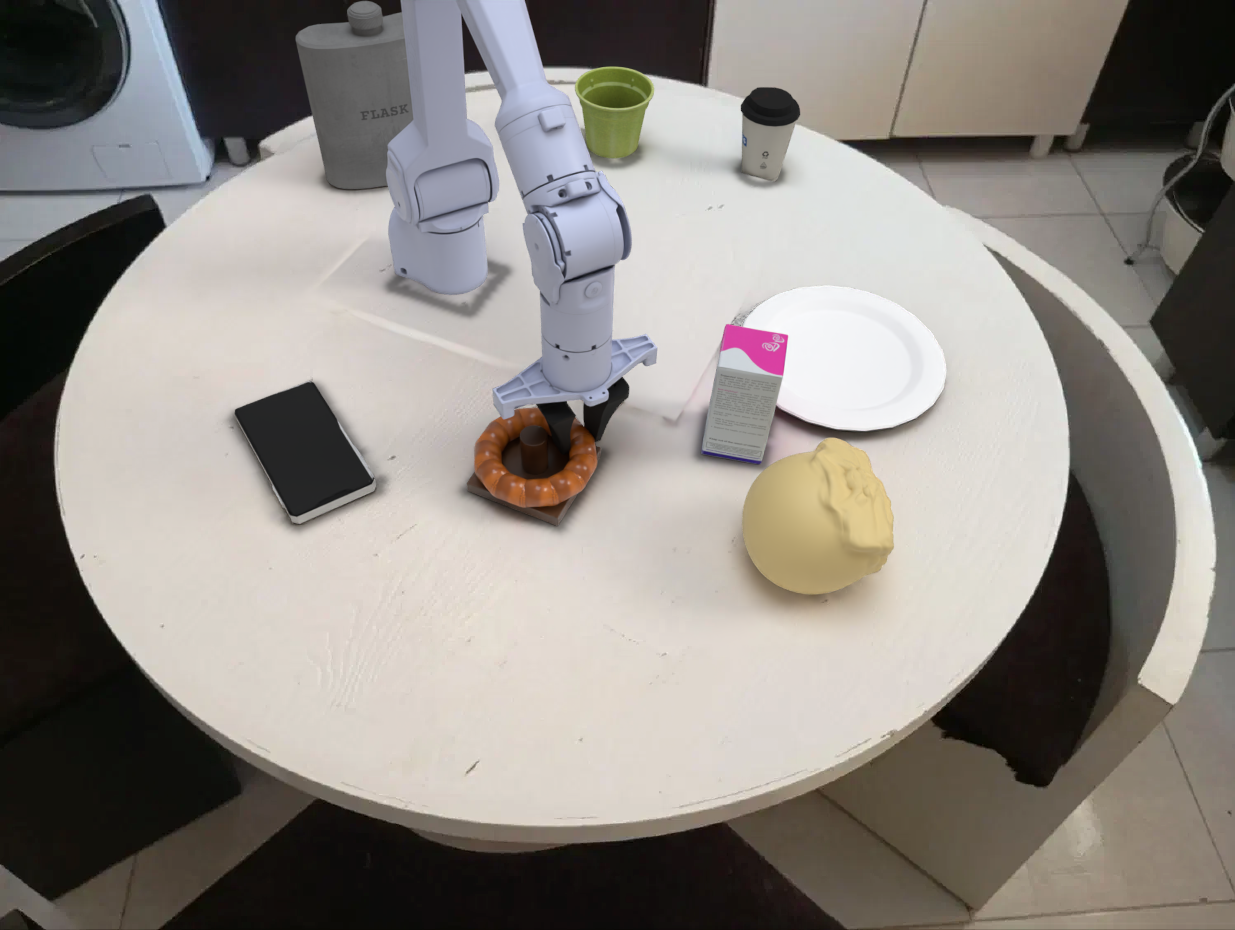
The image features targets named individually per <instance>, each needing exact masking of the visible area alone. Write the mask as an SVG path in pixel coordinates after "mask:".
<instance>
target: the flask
mask: <svg viewBox="0 0 1235 930" xmlns="http://www.w3.org/2000/svg"><path fill="white" fill-rule="evenodd" d="M346 12H347V13H346V14H347V20H348V21H345V22H332V23H321V24H320V23H317V24H313V25H308V26H307V27H305V28H303V29H301V30H299V31H298V32H297V34H296V35H295V43H296V49H297V53H298V57H299V62H300V66H301V71H302V75H303V80H304V84H305V89H306V92H307V97H308V101H309V105H310V110H311V115H312V120H313V124H314V129H315V132H316V133H315V134H316V137H317V142H318V146H319V151H320V156H321V159H322V164H323V169H324V173H325V178H326V181H327V182H328V183H329V184H330V185H331V186H333V187H336V188H338V189H342V190H364V189H374V188H379V187H380V188H381V187H386V186H387V187H388V184H387V179H386V169H387V165H388V157H387V152H388V144H389V142H390V141H391V140H392V139H393V138H394V137H396V136H397V135H398V134H399V133H400V132H401V131H402V130H403V129H404V128H405V127H407V126H408V125H409V124H410V123H411V122H412V121H413V110H412V101H411V91H410V82H409V73H408V64H407V54H406V45H405V36H404V27H403V17H402V11H401V12H397V13H392V14H389V15H383V11H382V7H381V6H380V5H378V4H377V3H375V2H373V1H369V0H360V1H357V2H353V3H352V4H351V5H350V6H349V7H348V8H347V10H346Z"/></svg>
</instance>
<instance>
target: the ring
mask: <svg viewBox="0 0 1235 930" xmlns="http://www.w3.org/2000/svg"><path fill="white" fill-rule="evenodd" d="M531 425H537V426H540V427H542V428H544V429H545V430H546V432H547V435H550V436H551V432H550V429H549V426H548V424H547V421H546V419H545V417H544V416H543V414H542V413H541V411H540V410H539V408H538V407H537V406H536V407H535V406H534V407H520V408H517V409H514V416H513V417H510V418H507V419H503V418H502V417H501V416H499V417H497V418H495V419H493V420H491V421H490V422H489V423H488V425H487V426H486V427H485V429H484V430H483V431H482V433H481V434H480V435H479V437H478V438H477V439H476V441H475V443H474V446H473V461H474V462H473V464H474V465H473V466H474V472H475V474H476V476H477V477H478V478H479V480H480V481H481V482H482V483H483V484H484V486H485V487H486V488H487V489H488V491H489V492H490V493H491V494H492V495H493V496H494V497H496V498H498V499H501V500H504V501H506V502H509V503H511V504H514V505H517V506H519V507H523V508H529V507H543V506H555V505H557V504H559V503H561V502H563V501H565V500H567V499H568V498H570V497H572V496H574V495H576V494H577V495H578V494H579V493H581V492H582V491H583V490H585V488H586V486H587V485H588V483H589V481H590V479H591V478H592V476H593V474H594V473H595V472H596V470H597V467H598V461H597V454H596V446H597V445H596V442H595V439H594V437H593V435H592V434H591V433H590V432H589V431H588V430H587V429H586V428H585V427H584V424H583V423H582V422H581V421H580V420H579V419H578V418H577V416H576V417H575V419H574V421H573V423H572V427H571V432H570V440H571V448H570V451H569V455H570V460H569V461H568V463H567V465H566V466H565V468H564V469H563V470H562V471H560V472H558V473H556V474H555V475H553V476H551V477H549V478H544V479H529V480H527V479H524V478H522V477H519V476H516V475H513V474H511V473H510V472H509V471H508V470H507V469H506V468H505V466H504V465H503V464H502V455H501V453H502V451H503V450H504V448H505V447H506V446H507V444H508V443H509V442H510V441H512V440H514V439H516V438H518V437H520V433H521V431H522V430H523V429H524V428H525V427H527V426H531ZM595 445H596V446H595Z"/></svg>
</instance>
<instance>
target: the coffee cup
mask: <svg viewBox="0 0 1235 930" xmlns="http://www.w3.org/2000/svg"><path fill="white" fill-rule="evenodd" d="M740 113H741V115H742V116H741V117H742V118H741V174H744V175H747V176H751V177H754V178H759V179H761V180H766V181H769V182H772V183H774V182H777V180H778V178H779V176H780V174H781V171H782V167H783V164H784V161H785V158H786V155H787V152H788V148H789V146H790V143H791V139H792V136H793V134H794V130H795V127H796V123H797V121H798V120H799V118H800V116H801V108H800V104H799V103H798V101H797V100H796V99H794V98H793V96H792V94H791V93H789V91H787V90H784V89H782V88H779V87H775V86H773V87H771V86H770V87H769V86H764V87H763V86H760V87H759V86H758V87H756V88H754V89H752V91H751V92H750V93H749V94H748V95H747V96H745V98H744V99H743V101H742V102H741V104H740Z"/></svg>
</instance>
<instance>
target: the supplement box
mask: <svg viewBox="0 0 1235 930" xmlns="http://www.w3.org/2000/svg"><path fill="white" fill-rule="evenodd" d="M787 342H788V335H786V334H781V333H775V332H769V331H762V330H757V329H751V328H746V327H742V325H741V326H740V325H735V324H730V323H726V324H725V326H724V329H723V333H722V337H721V343H720V348H719V353H718V358H717V364H716V369H715V373H714V380H713V383H712V384H713V385H712V389H711V394H710V399H709V404H708V409H707V410H708V411H707V415H706V420H705V426H704V432H703V436H702V437H703V438H702V445H701V451H700V454H701V455H702V456H703V455H704V456H709V457H714V458H720V459H725V460H732V461H736V462H737V461H738V462H743V463H748V464H753V465H761V464H762V462H763V458H764V454H765V450H766V447H767V443H768V439H769V435H770V431H771V426H772V423H773V419H774V415H775V410H776V408H777V407H776V403H777V399H778V395H779V391H780V387H781V383H782V379H783V374H784V366H785V358H786V350H787Z"/></svg>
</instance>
